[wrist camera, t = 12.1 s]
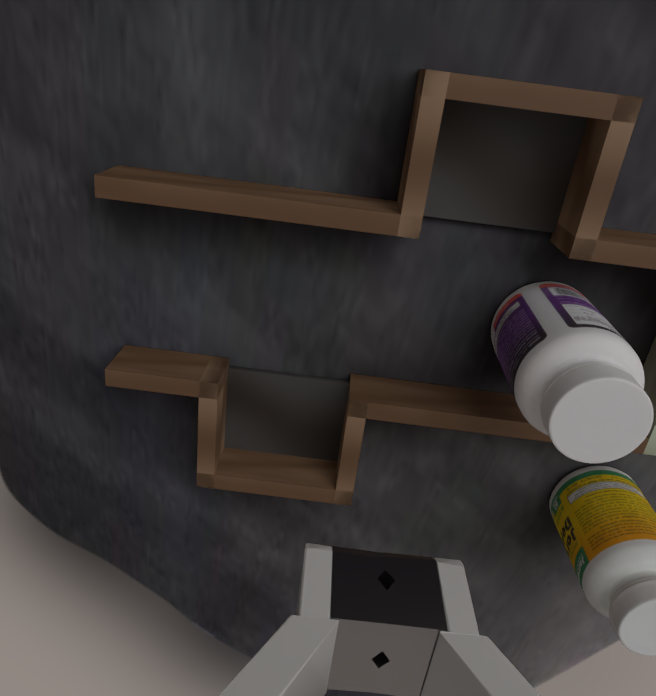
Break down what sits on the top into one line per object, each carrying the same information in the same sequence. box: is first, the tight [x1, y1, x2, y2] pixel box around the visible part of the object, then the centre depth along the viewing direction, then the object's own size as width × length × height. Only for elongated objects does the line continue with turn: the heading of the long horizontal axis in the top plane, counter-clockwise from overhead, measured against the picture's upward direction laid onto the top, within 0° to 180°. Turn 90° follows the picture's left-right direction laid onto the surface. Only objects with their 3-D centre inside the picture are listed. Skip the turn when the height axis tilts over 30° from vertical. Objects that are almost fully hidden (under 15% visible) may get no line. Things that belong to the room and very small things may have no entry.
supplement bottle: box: [549, 465, 656, 656], centre depth 32 cm, size 5×5×10 cm
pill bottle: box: [491, 281, 654, 463], centre depth 27 cm, size 5×5×10 cm
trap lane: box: [94, 69, 656, 506], centre depth 30 cm, size 23×30×3 cm
